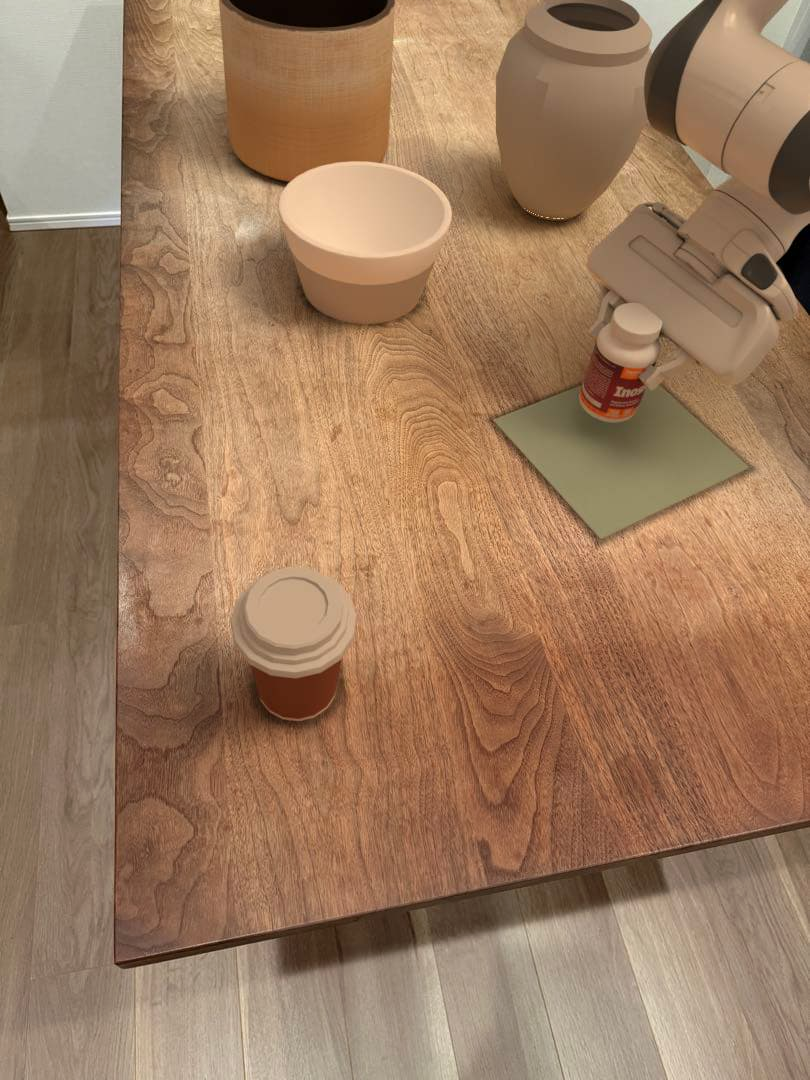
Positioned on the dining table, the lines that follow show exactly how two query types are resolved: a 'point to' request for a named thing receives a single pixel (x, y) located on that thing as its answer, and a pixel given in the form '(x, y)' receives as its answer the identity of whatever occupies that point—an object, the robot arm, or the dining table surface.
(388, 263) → the bowl
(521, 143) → the vase
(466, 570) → the dining table surface
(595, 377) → the pill bottle
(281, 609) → the coffee cup
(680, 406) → the mat
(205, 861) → the dining table surface
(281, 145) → the planter
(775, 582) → the dining table surface
